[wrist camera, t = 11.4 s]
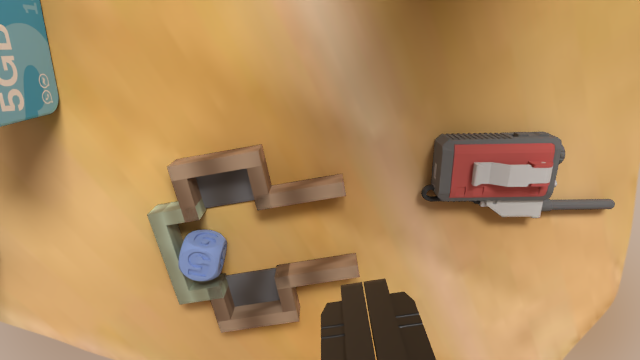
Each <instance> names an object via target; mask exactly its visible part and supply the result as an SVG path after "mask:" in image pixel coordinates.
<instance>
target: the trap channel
mask: <svg viewBox="0 0 640 360" xmlns="http://www.w3.org/2000/svg"><path fill="white" fill-rule="evenodd" d="M167 169H168V172H169V175H170V178H171V181H172V184H173V187H174V190H175V193H176V196H177V199H178V201H177V202H171V203H165V204H159V205H157V206H156V207H154V208H153V209H152V210H151V211H150V212H149V213H148V214H147V216H148V218H149V221H150V224H151V227H152V229H153V232H154V235H155V238H156V241H157V243H158V246H159V249H160V252H161V254H162V257H163V260H164V263H165V266H166V268H167V271H168V274H169V277H170V279H171V282H172V285H173V288H174V291H175V293H176V296H177V299H178V302H179V304H186V303H193V302H200V301H206V300H211V303H212V306H213V310H214V313H215V316H216V319H217V322H218V325H219V328H220V331H221V333H222V332H229V331H236V330H243V329H249V328H256V327H263V326H270V325H277V324H283V323H290V322H297V321H299V315H300V304H299V300H298V296H297V291H296V287H298V286H305V285H311V284H318V283H324V282H331V281H337V280H344V279H351V278H357V277H360V276H359V270H358V264H357V258H356V253H352V254H346V255H339V256H333V257H327V258H320V259H314V260H307V261H301V262H295V263H288V264H282V265H277V267H276V268H271V269H265V270H258V271H252V272H246V273H239V274H233V275H226V273H224V274H220V275H219V276H218V277H216V278H214V279H212V280H209V281H195V280H191V279H189V278H188V277H186V276H185V275H184V274H183V273H182V272H181V271H180V269H179V265H178V263H179V255H180V250H181V247H182V244H183V238H182V235H181V232H180V229H179V226H178V223H185V222H191V221H197V220H200V218H201V217H202V216H203V214H204V213H205V211H206V208H209V207H215V206H221V205H227V204H233V203H239V202H245V201H251V200H255V204H256V208H257V210H263V209H269V208H275V207H281V206H287V205H293V204H300V203H306V202H312V201H318V200H324V199H330V198H336V197H342V196H346V193H345V187H344V181H343V175H342V174H337V175H331V176H325V177H319V178H313V179H307V180H302V181H296V182H290V183H284V184H278V185H271V181H270V177H269V172H268V168H267V164H266V160H265V155H264V151H263V147H262V144H261V145H256V146H250V147H244V148H238V149H233V150H227V151H221V152H216V153H210V154H204V155H199V156H193V157H187V158H181V159H176V160H175V161H174V162H172V163H171V164H170V165H168V166H167Z"/></svg>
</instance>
